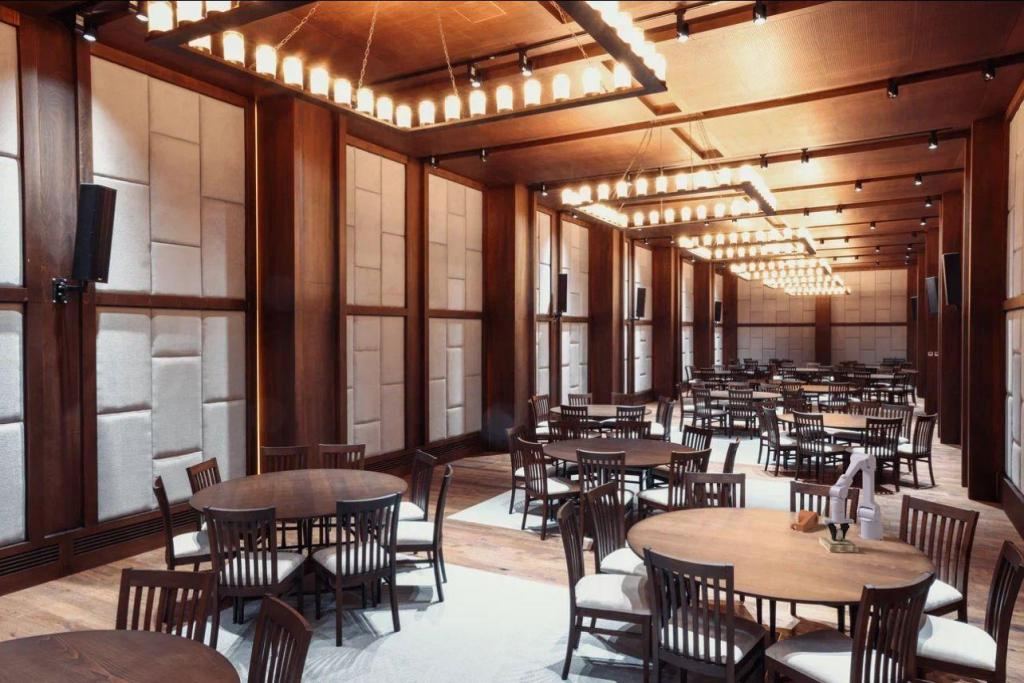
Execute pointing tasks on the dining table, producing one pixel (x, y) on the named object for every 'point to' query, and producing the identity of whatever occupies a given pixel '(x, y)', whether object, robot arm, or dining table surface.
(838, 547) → the jig
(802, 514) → the brown blocky piece
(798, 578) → the dining table surface
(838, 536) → the bushing
